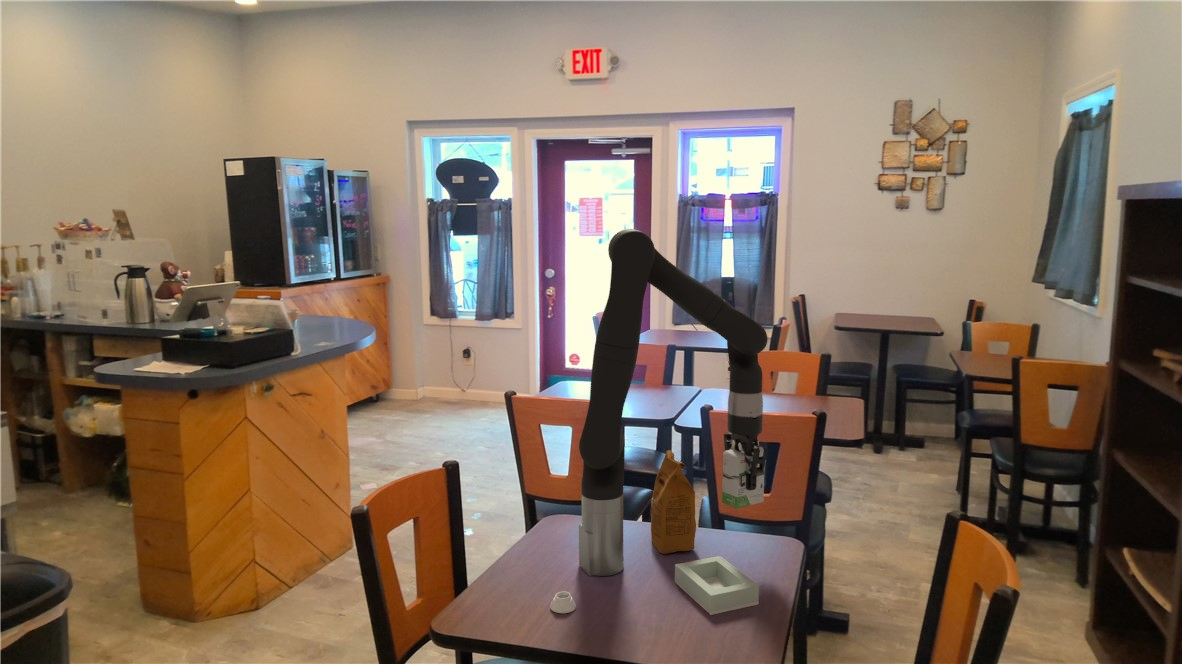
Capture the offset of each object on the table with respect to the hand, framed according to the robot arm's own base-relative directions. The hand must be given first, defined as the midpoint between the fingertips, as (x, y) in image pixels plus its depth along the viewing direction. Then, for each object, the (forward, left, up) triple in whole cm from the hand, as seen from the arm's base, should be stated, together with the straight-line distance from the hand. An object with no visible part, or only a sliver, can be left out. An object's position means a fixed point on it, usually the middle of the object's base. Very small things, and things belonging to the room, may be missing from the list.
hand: (743, 484), depth 169 cm
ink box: (0, 0, -4) cm, 4 cm away
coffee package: (-10, +15, -19) cm, 26 cm away
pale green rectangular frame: (-13, -10, -18) cm, 24 cm away
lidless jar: (-44, -4, -19) cm, 48 cm away
